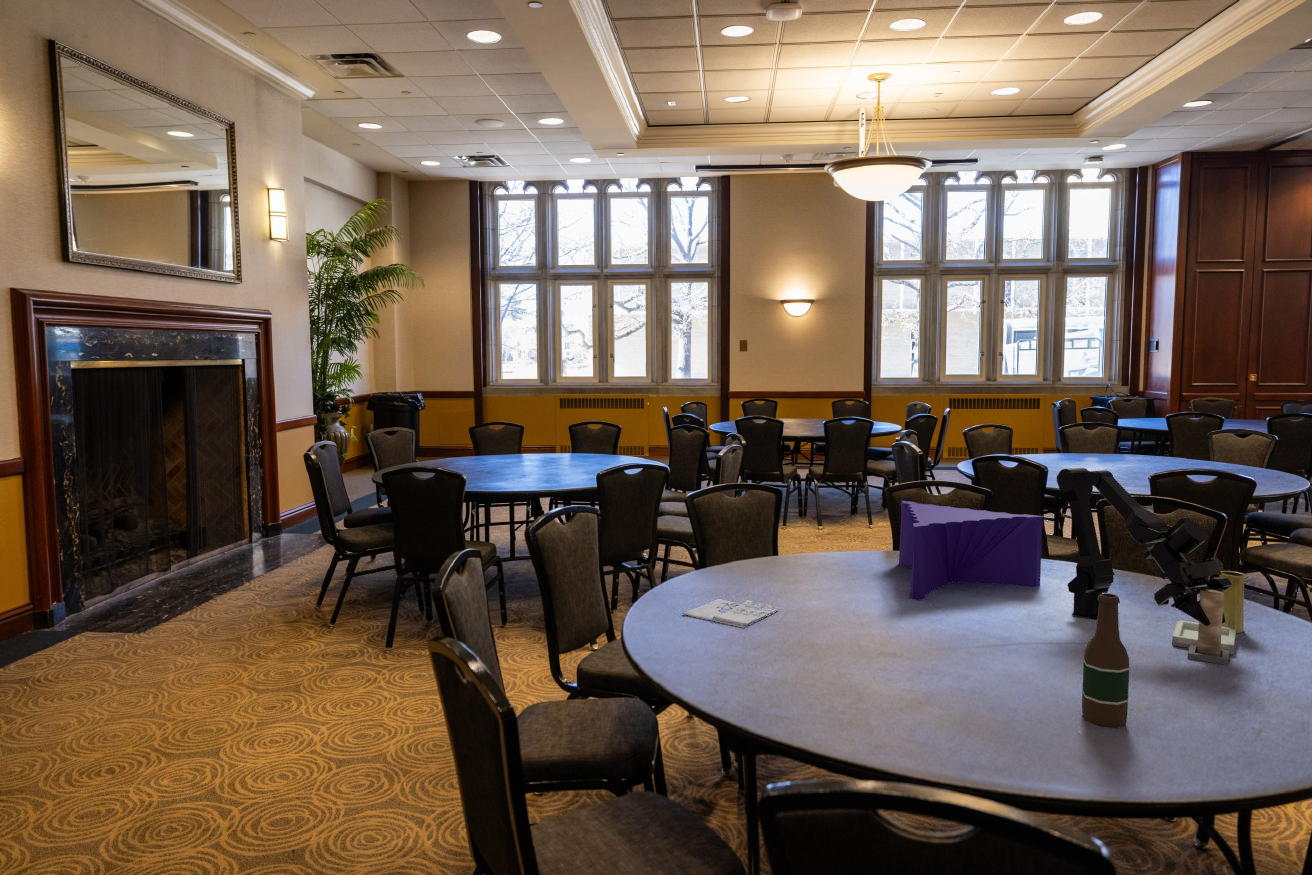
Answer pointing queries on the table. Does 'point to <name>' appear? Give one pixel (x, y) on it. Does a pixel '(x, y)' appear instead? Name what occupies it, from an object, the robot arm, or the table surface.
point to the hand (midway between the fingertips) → (1216, 623)
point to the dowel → (1211, 623)
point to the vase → (1234, 601)
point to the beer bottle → (1106, 669)
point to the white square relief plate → (733, 612)
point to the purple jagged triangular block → (968, 547)
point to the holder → (1208, 658)
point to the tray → (1189, 635)
